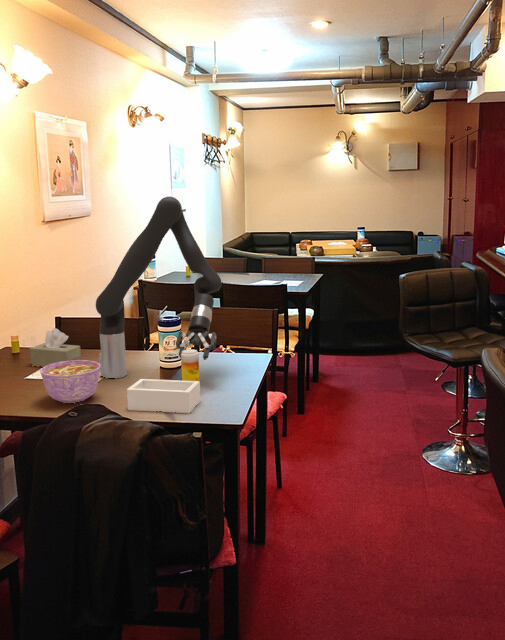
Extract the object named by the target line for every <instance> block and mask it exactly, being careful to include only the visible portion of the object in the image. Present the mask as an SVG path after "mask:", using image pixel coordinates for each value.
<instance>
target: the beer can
mask: <svg viewBox="0 0 505 640" xmlns="http://www.w3.org/2000/svg"><path fill="white" fill-rule="evenodd" d="M180 360H181V361H180V362H181V365H180V366H181V381H200V357H199V352H198V350H197V349H191V348H190V349H185V350H183V351H182V354H181V358H180Z"/></svg>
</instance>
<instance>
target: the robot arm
mask: <svg viewBox="0 0 505 640" xmlns="http://www.w3.org/2000/svg"><path fill="white" fill-rule="evenodd" d="M169 231H171V232H172V234H173V236H174V238H175V240H176V243H177V245H178V248H179V251H180V252H181V255H182V257H183V259H184V260H185V262H186V265H187V267H188V269H189V271H190V272H191V273H192V274H200V275H202V276H201V277H200V276H199V277H198V278H197V279H196V280H195V281H194V284H193V289H194V291H193V292H194V298H195V299H194V305H193V308H192V310H191V311H192V312H191V315H190V319H189V324H188V329H187V331H186V333H185V332H182V331H179V332H178V334H177V338H176V342H175V346H176V348H177V350H178V351H179V352H178V357H179V358H180V359H181V354H182V351H183V350H187V348H189V347H191V345H192V346H201V345H203V347H204V350H203V354H202V358H203V360H204V361H205V360H207V359H208V358H209V355H210V351H211V350H212V351H214V350H216V347H217V334H216V332H215V331H213V332H212V333H210V328H211V327H210V326H211V323H212V319H213V318H212V316H213V309H214V303H215V302H214V301H215V300H214V299H215V298H214V297H213V296H212V295H210V294H212V293H215V292H218V291H219V290H221V288H222V286H223V285H222V282H223V281H222V279H221V276H220V275H219V274H218V273H217V271H216V270H215V269H214V268H213V267H212V266H211V265H210V264H209V262H207V259H206V257H205V256H204V254H203V252H202V250H201V248H200V245H199V244H198V243H197V241H196V239H195V238H194V236H193V233H192V232H191V230H190V228H189V226H188V223H187V221H186V218H185V215H184V211H183V207H182V204H181V202H180V201H179V200H178V199H177V197H173V196H165V197H162V198H161V199H160V200H159V201H158V203H157V205H156V207H155V210H154V211H153V214H152V216H151V217H150V220H149V221H148V223H147V225H146V226H145V228H144V230H142V231H141V232H140V233H139V235H138V236H137V237H136V238H135V239H134V241H133V243H132V244H131V245H130V247H129V249H128V250H127V251H126V253H125V255H124V257H123V258H122V260H121V262H120V264H119V265H118V267H117V269H116V271H115V273H114V275H113V277H112V278H111V280H110V282H109V283H108V284H107V285H106V287H105V288H104V289H103V290H102V292H101V293H100V294H99V295H98V296H97V298H96V301H95V310H96V311H97V313H98V314H99V315H100V323H99V328H98V329H99V331H98V333H99V342H100V352H99V353H98V359H99V360H98V361H99V362H98V363H99V364H100V365H101V367H100V373H99V377H100V376H103V377H102V378H104V377H105V378H104V379H108V378H115V379H120V378H124V377H126V376H127V375H128V373H127V372H128V371H127V359H126V357H127V355H126V354H127V353H126V341H125V340H126V339H125V325H126V324H125V322H126V319H125V300H124V299H125V298H126V295H127V293H128V292H129V290H130V289H131V288H132V287H133V285H134V284H135V283H136V282H137V281H138V280H139V279H140V278H141V277H142V275H143V274H144V272H145V271H146V270H147V268H148V267H149V265H150V264H151V262H152V261H153V259H154V258H155V255H156V254H157V251H158V249H159V248H160V246H161V243H162V242H163V239H164V238H165V236H166V235H167V233H169ZM208 339H210V344H209V343H208V342H207V340H208Z"/></svg>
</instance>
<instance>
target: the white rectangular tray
mask: <svg viewBox="0 0 505 640" xmlns="http://www.w3.org/2000/svg"><path fill="white" fill-rule="evenodd" d="M126 396H127V410H128V411H141V412H156V411H158V412H159V411H162V412H161V413H175V412H176V413H177V414H191V413H190V412H193V410H194V409H195V408H196V407H197V406H198V405H199V404H198V403H201V383H200V381H182V380H176V379H174V380H173V379H172V380H171V379H154V378H153V379H148V378H140V379H139V380H137V381H136V382H134V384H132V385H130V386H129V387H128V388H126ZM197 404H198V405H197ZM196 405H197V406H196ZM195 406H196V407H195ZM194 407H195V408H194ZM159 413H160V412H159Z"/></svg>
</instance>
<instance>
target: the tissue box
mask: <svg viewBox="0 0 505 640" xmlns="http://www.w3.org/2000/svg"><path fill="white" fill-rule="evenodd" d="M69 336H70V335H67V334H65V333H64V332H61V331H60V330H59V329H58V328H53V329H52V330H47V331H46V333H45V340H44V341H45V342H44V343H40V344H39V345H35V346H32V347H30V348H29V357H30V365H31V364H34V365H42V366H47V365H50V364H53V363H57V362H63V361H72V360H82V354H81V353H82V352H81V346H80V345H76V344H64V343H66V342H67V340H68V339H69Z"/></svg>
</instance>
